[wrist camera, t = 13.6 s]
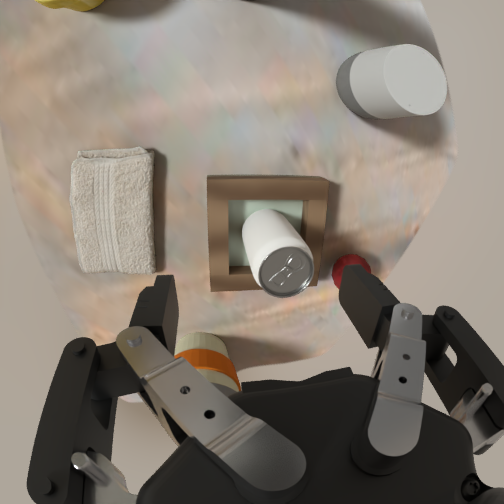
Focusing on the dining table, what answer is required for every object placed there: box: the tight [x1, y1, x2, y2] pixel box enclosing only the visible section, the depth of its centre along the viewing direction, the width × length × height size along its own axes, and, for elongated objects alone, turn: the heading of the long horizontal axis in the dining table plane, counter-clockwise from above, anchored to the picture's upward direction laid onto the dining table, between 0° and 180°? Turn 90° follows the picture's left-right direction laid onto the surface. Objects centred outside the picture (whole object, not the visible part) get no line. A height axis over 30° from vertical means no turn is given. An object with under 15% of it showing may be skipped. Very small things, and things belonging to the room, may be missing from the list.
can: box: [242, 209, 314, 298], centre depth 33 cm, size 6×6×12 cm
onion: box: [332, 254, 371, 289], centre depth 40 cm, size 6×6×8 cm
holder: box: [207, 175, 329, 292], centre depth 38 cm, size 15×15×4 cm
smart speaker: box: [336, 44, 447, 119], centre depth 26 cm, size 10×9×14 cm
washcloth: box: [69, 146, 157, 274], centre depth 34 cm, size 12×18×3 cm, turn 176°
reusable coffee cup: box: [160, 332, 241, 427], centre depth 40 cm, size 13×13×15 cm
